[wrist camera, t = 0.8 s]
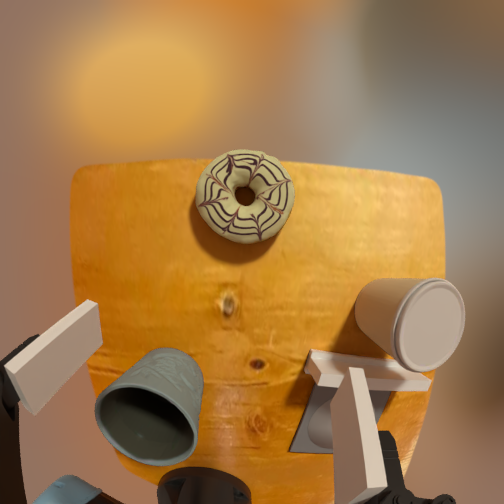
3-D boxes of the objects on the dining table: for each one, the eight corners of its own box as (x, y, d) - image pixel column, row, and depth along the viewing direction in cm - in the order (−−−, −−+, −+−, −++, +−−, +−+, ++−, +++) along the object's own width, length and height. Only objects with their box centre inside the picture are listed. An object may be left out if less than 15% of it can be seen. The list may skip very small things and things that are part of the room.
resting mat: (360, 450, 33) (362, 452, 32) (289, 449, 32) (289, 451, 32) (390, 387, 33) (392, 388, 32) (315, 380, 33) (316, 383, 32)
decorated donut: (225, 143, 33) (224, 130, 29) (304, 181, 33) (311, 173, 29) (184, 217, 32) (177, 212, 29) (265, 258, 33) (269, 259, 29)
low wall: (403, 379, 33) (425, 395, 27) (303, 370, 33) (315, 391, 27) (410, 361, 33) (433, 375, 27) (310, 348, 33) (323, 366, 27)
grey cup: (213, 350, 32) (200, 397, 20) (207, 417, 32) (195, 476, 20) (134, 335, 32) (89, 370, 20) (134, 402, 32) (100, 451, 20)
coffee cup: (361, 354, 33) (407, 392, 21) (337, 292, 33) (384, 310, 21) (415, 320, 33) (472, 341, 21) (396, 259, 33) (456, 261, 21)
